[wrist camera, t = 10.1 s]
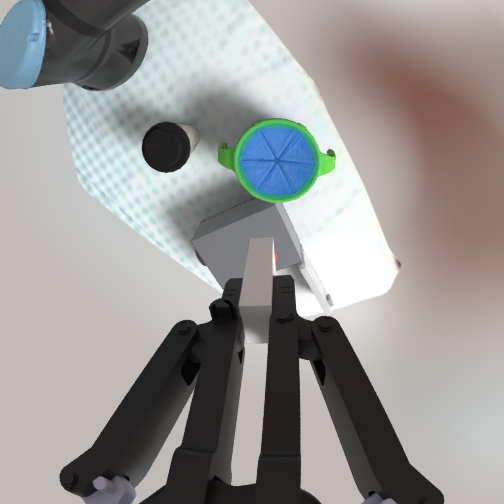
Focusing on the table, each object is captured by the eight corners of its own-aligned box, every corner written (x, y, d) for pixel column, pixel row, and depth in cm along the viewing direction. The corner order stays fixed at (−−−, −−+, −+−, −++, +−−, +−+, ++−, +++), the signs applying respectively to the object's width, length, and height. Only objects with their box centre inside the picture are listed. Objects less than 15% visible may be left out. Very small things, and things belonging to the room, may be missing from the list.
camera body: (195, 224, 48) (182, 247, 41) (275, 189, 43) (275, 207, 36) (222, 268, 52) (215, 294, 45) (299, 239, 47) (302, 264, 41)
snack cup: (333, 126, 37) (350, 134, 28) (319, 188, 42) (330, 214, 34) (230, 108, 37) (216, 110, 28) (222, 172, 42) (208, 193, 34)
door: (322, 296, 53) (326, 317, 48) (294, 245, 48) (296, 264, 42) (330, 292, 52) (335, 313, 47) (303, 241, 47) (306, 260, 42)
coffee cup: (214, 144, 40) (198, 157, 31) (180, 166, 42) (156, 185, 34) (191, 108, 37) (167, 112, 29) (157, 133, 39) (127, 144, 31)
